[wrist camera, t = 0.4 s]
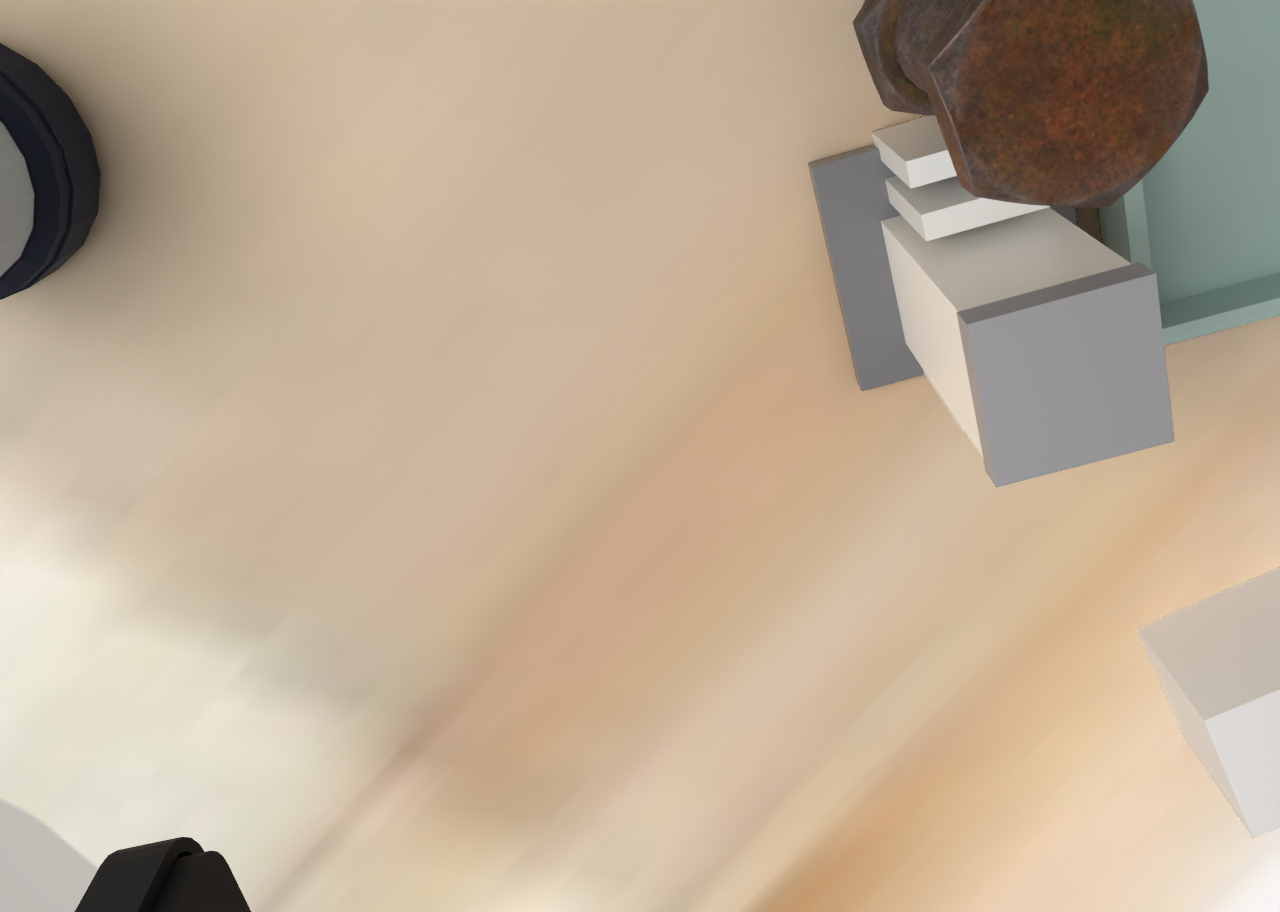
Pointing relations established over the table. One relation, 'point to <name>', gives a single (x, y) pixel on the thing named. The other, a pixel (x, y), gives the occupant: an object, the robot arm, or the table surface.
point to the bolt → (1042, 88)
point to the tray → (1215, 186)
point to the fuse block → (992, 308)
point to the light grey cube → (1228, 691)
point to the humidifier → (41, 175)
